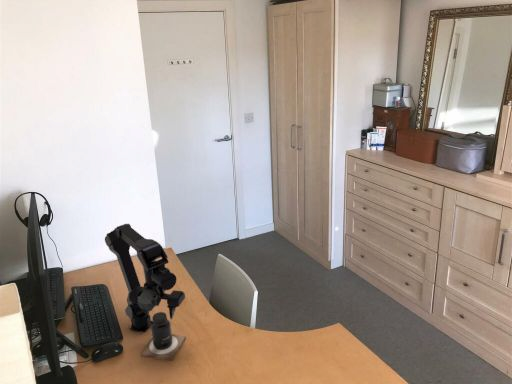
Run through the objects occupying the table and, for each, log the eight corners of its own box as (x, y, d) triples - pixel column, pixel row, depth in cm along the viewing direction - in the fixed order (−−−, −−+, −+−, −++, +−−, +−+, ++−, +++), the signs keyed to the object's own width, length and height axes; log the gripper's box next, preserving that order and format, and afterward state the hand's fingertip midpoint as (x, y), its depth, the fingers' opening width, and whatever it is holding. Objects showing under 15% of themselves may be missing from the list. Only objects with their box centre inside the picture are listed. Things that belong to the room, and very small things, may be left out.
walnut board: (140, 355, 156) (140, 353, 155) (156, 333, 166) (156, 331, 166) (172, 361, 152) (171, 358, 152) (186, 338, 163) (185, 335, 163)
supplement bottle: (168, 351, 155) (164, 323, 151) (150, 349, 156) (145, 321, 152) (175, 338, 161) (172, 310, 157) (158, 337, 163) (154, 309, 158)
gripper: (116, 288, 145) (123, 327, 150) (168, 294, 140) (174, 335, 145) (133, 270, 155) (140, 308, 160) (183, 275, 150) (188, 314, 155)
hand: (159, 316), depth 155 cm, fingers open, 9 cm apart
